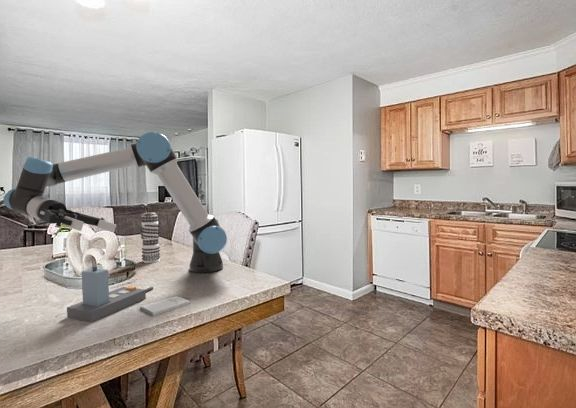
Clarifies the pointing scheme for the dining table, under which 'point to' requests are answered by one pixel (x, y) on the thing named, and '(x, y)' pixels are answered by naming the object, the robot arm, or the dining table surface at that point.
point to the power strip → (108, 304)
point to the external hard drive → (164, 305)
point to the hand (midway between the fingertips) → (99, 227)
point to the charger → (95, 287)
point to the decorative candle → (150, 237)
